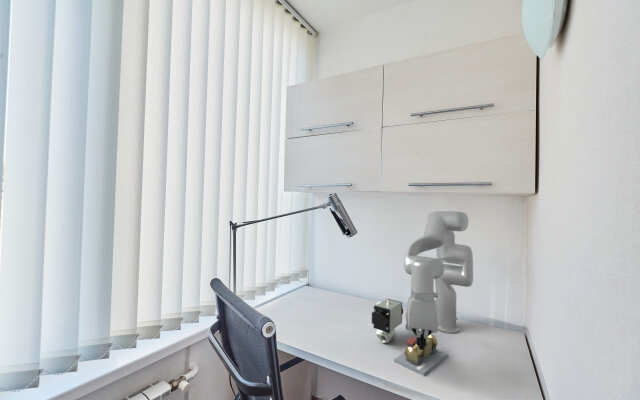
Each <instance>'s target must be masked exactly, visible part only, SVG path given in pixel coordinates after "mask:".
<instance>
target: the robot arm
mask: <svg viewBox="0 0 640 400" xmlns="http://www.w3.org/2000/svg"><path fill="white" fill-rule="evenodd" d="M468 226H469V216H468V215H467V213H466V212H464V211H463V212H462V211H454V210H453V211H452V210H451V211H450V210H447V211H445V210H436V211H431V212H430V213H428V215H427V221H426V224H425V227H424V232H423V235H422V236H420V237H419V238H417V239H415V241H413V242H412V243H411V244H410V245H409V246H408V248H407V252H406V254H405V258H404V262H403V269H404V271H405V272H406V274H408V275H410V277H411V278H410V280H411V281H410V296H409V297H408V298H407V304H406V314H405V321H406V325H405V329H406V330H407V331H409V332H412V333H413V335H414V334H415V335H416V336H417V346H418V347H419V349H420V350H421V349H423V350H425V347H426V339H427V337H428V336H429V335H432V334H438V332H442V333H444V334H445V333H447V334H458V333H459V332H460V326H458V325H457V320H458V317H457V292H456V290H455V288H454V287H453V286H458V287H464V288H465V287H467V288H468V287H471V286H472V285H473V283H474V257H473V256H474V255H473V254H474V253H473V250H472V248H471V247H470V246H469V245H466V244H460V243H459V244H457V243H456V240H455V239H456V237H455V235H456V234H455V232H464V231H466V230H467V229H468ZM431 250H436V251H435V252H436V257H430V256H421V255H420V254H421V253H424V252H427V251H431ZM434 284H435V288H434ZM434 289H435V292H434ZM420 329H423V333H422V335H420Z"/></svg>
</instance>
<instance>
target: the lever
mask: <svg viewBox="0 0 640 400" xmlns="http://www.w3.org/2000/svg"><path fill="white" fill-rule="evenodd" d="M422 333H423V329H420V335H422ZM416 343H417V336H416V335H415V334H414V333H413V335H412V336H411V337H410V338H408V340H406V344H405V346H406V347H411V348H413V347H414V346H415V344H416Z"/></svg>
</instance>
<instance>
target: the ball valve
mask: <svg viewBox="0 0 640 400" xmlns="http://www.w3.org/2000/svg"><path fill="white" fill-rule="evenodd" d="M403 314H404V308H403V302H402V301H399V300H393V299H390V298H386V299H385V300H383V301H378V302H376V305H374V306H373V311H372V312H371V325H373V329H375V330H376V337H377V338H379V341H380V342H381V343H383V344H388V343H389V342H391V341H392V340H394V338H395V337H396V336H397V332H396V328H397V327H398V326H400V325H402V323H403Z"/></svg>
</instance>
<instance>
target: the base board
mask: <svg viewBox="0 0 640 400" xmlns="http://www.w3.org/2000/svg"><path fill="white" fill-rule="evenodd" d="M447 358H448V353H446V352H444V351H443V350H442V351H441V350H438V349H436V353H435V354H434V355H432V354H429V355H427V356H426V357H425V358H424V357H422V364H420V365H419V366H417V365H415V364H412V363H410V362H408V361H406V357H405V353H404V352H402V353H401V354H399V355H398V356H396V357H395V358H393V362H394V363H396V364H398V365H401V366H402V367H405V368H407V369H409V370H411V371H413V372H415V373H417V374H419V375H422V376H423V377H424V376H426V375H427V374H428V373H430V372H431V371H432V370H433V369H434V368H436V367H437V366H438V365H439V364H440V363H442V362H443V361H444V360H445V359H447Z"/></svg>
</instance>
